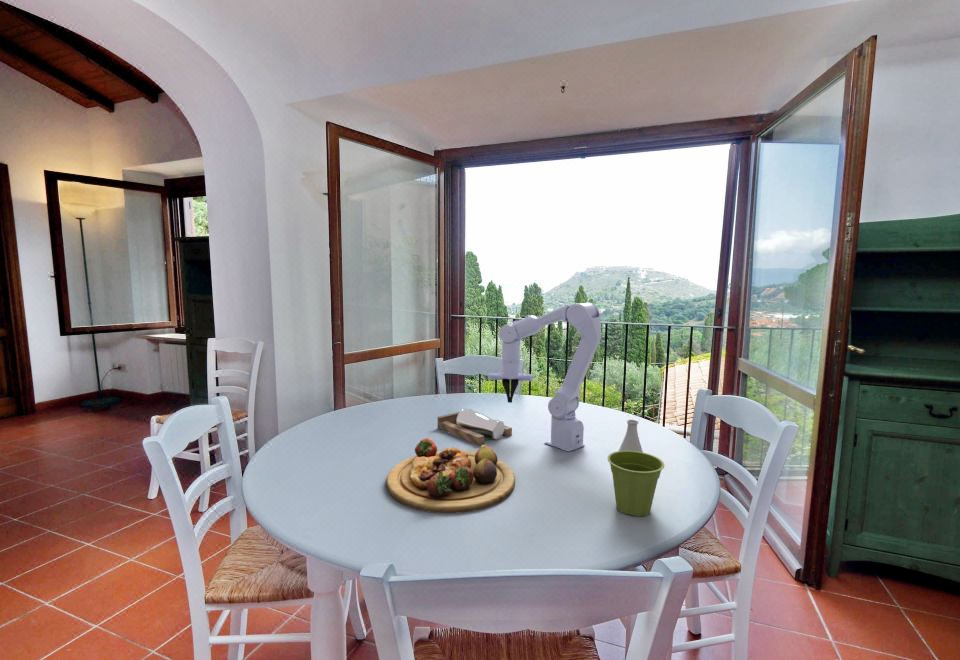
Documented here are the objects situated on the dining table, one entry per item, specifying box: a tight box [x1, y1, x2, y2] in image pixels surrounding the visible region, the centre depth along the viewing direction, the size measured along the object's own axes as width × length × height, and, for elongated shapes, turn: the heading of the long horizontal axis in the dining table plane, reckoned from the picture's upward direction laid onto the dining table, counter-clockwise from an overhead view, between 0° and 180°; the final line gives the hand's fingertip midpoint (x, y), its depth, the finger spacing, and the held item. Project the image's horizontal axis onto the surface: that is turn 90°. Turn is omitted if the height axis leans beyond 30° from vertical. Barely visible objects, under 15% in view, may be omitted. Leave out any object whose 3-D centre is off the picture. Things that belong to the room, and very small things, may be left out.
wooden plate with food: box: [385, 437, 516, 514], centre depth 116 cm, size 32×32×8 cm
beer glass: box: [456, 408, 506, 441], centre depth 151 cm, size 7×7×15 cm
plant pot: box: [607, 450, 665, 517], centre depth 103 cm, size 12×12×11 cm
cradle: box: [437, 409, 513, 446], centre depth 154 cm, size 21×14×4 cm
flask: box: [618, 419, 644, 453], centre depth 135 cm, size 7×7×10 cm
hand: (509, 401), depth 153 cm, fingers closed
